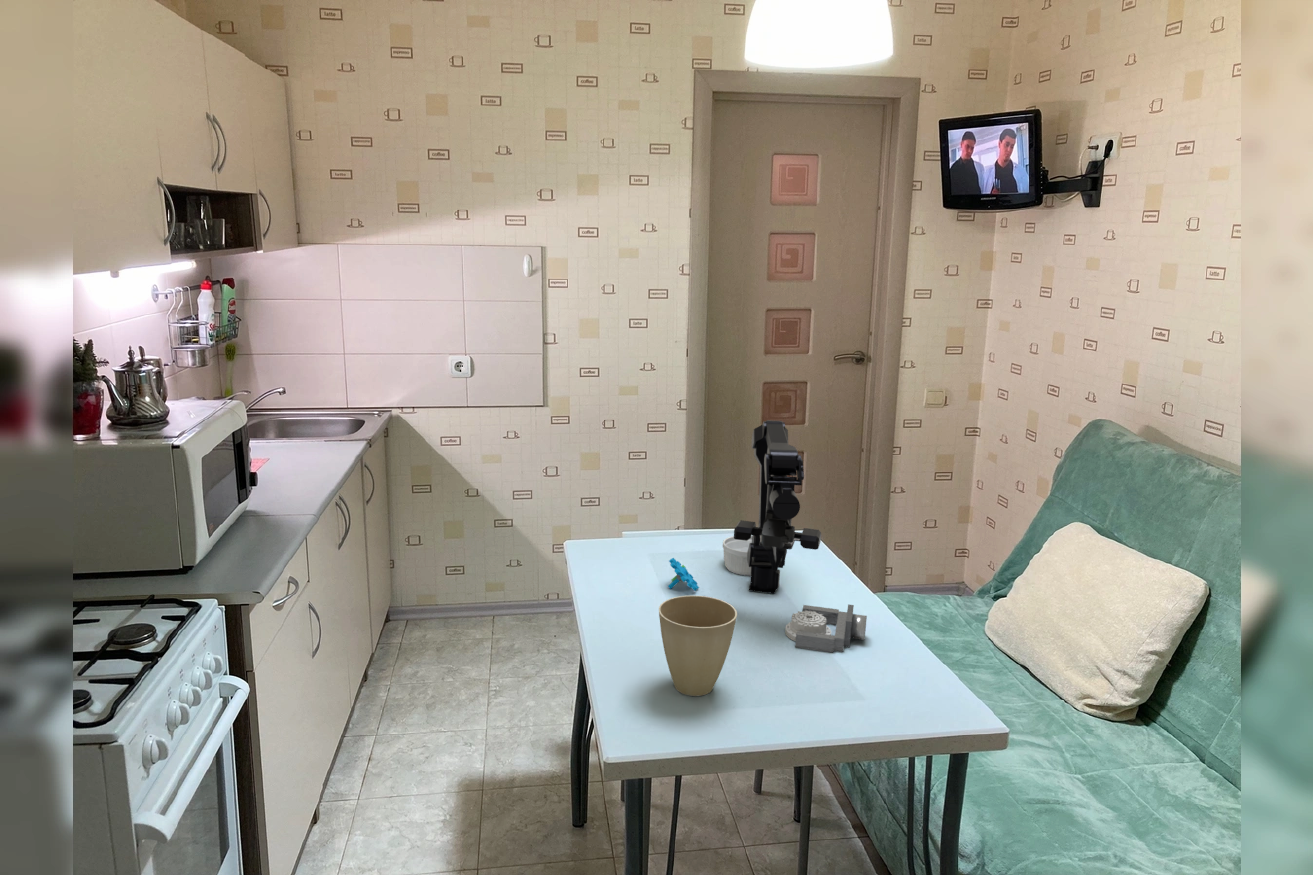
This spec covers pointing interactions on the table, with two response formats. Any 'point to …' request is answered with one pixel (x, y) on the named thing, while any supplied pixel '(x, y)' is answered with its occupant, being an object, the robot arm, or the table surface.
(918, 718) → the table surface
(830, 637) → the clevis bracket
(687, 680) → the plant pot
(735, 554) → the ramekin
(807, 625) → the mechanical component
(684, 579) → the gear
